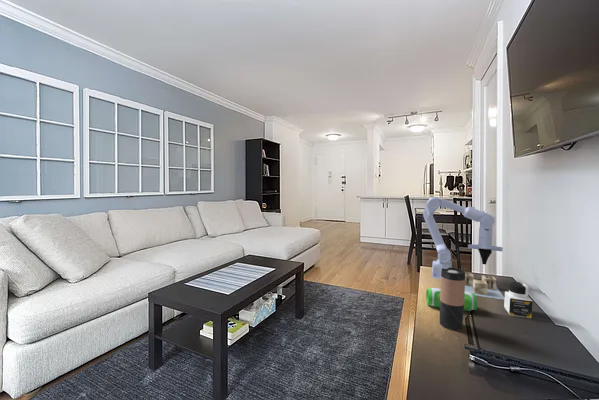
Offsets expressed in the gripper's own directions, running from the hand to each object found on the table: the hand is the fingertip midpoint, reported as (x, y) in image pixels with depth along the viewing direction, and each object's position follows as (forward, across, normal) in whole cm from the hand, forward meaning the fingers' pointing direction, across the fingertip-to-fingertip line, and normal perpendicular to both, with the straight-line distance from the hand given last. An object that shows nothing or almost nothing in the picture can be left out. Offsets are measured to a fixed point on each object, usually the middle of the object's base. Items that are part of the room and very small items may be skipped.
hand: (484, 263), depth 144 cm
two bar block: (+10, +1, -7) cm, 12 cm away
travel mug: (+11, -19, -55) cm, 59 cm away
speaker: (+11, -18, -39) cm, 44 cm away
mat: (+10, -3, -11) cm, 15 cm away
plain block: (+10, -4, -16) cm, 19 cm away
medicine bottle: (+11, +6, -33) cm, 35 cm away
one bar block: (+10, -8, -6) cm, 14 cm away
